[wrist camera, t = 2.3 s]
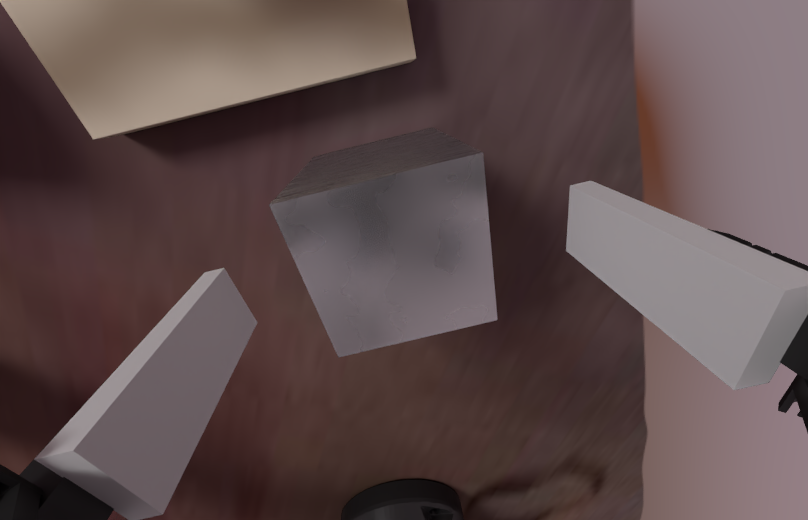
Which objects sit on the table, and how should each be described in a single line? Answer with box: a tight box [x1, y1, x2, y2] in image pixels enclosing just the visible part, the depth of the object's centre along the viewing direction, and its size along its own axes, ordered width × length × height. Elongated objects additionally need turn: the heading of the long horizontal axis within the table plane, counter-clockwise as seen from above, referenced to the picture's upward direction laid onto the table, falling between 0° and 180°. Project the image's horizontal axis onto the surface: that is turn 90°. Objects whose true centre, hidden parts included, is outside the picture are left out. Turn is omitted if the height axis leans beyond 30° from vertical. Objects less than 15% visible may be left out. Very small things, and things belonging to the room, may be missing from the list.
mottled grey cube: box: [269, 128, 497, 357], centre depth 16 cm, size 7×7×9 cm
